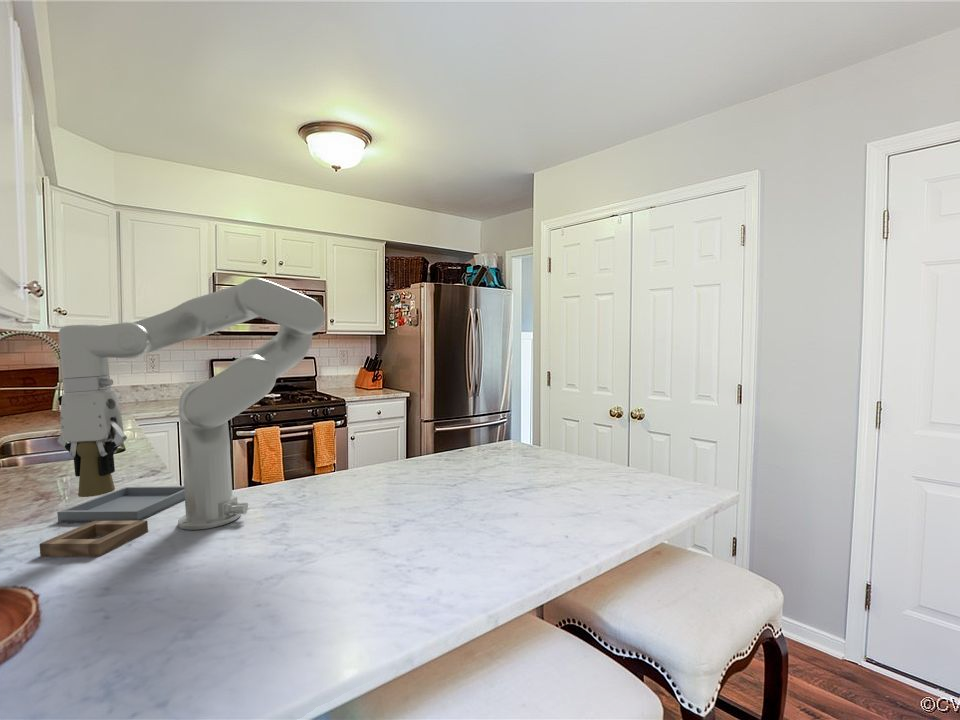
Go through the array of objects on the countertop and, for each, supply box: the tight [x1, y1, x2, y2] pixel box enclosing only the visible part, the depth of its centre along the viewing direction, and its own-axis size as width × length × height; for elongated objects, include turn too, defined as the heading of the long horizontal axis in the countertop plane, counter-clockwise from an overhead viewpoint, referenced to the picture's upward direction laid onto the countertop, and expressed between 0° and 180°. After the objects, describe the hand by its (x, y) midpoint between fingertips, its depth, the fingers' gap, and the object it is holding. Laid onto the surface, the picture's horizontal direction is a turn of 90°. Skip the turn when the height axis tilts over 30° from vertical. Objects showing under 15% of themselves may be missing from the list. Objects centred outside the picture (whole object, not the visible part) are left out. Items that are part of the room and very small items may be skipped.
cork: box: [77, 442, 116, 498], centre depth 102 cm, size 6×6×11 cm
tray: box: [56, 485, 185, 524], centre depth 125 cm, size 20×20×2 cm
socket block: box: [39, 519, 149, 557], centre depth 102 cm, size 12×12×2 cm
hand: (95, 473), depth 102 cm, fingers closed on cork, 4 cm apart
